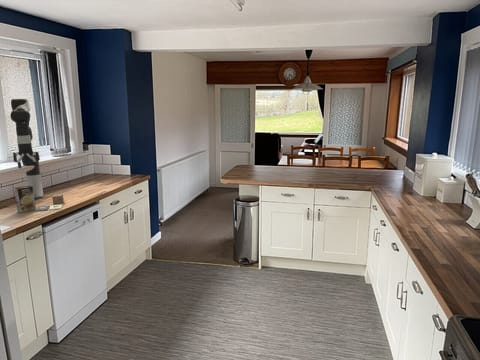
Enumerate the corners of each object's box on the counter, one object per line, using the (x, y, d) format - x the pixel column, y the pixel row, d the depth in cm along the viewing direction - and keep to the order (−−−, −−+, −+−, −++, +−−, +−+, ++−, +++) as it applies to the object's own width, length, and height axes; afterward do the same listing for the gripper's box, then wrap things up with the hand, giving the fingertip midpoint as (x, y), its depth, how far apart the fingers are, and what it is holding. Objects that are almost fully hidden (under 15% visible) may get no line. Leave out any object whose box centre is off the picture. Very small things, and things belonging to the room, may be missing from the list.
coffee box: (21, 213, 230) (17, 189, 226) (17, 211, 234) (13, 187, 230) (36, 209, 237) (32, 186, 233) (32, 208, 241) (28, 185, 237)
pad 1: (38, 207, 242) (38, 206, 242) (49, 206, 244) (49, 205, 244) (35, 211, 233) (35, 210, 232) (47, 210, 235) (47, 209, 235)
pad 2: (51, 206, 244) (51, 205, 244) (62, 205, 247) (62, 204, 246) (49, 210, 235) (48, 208, 235) (60, 209, 237) (60, 207, 237)
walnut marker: (54, 202, 254) (53, 194, 253) (63, 201, 256) (62, 193, 254) (53, 205, 248) (52, 196, 247) (62, 204, 250) (61, 195, 249)
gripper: (38, 141, 230) (41, 166, 234) (13, 142, 226) (17, 167, 230) (35, 142, 223) (39, 168, 227) (9, 143, 219) (13, 169, 223)
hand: (28, 167), depth 228 cm, fingers open, 8 cm apart
